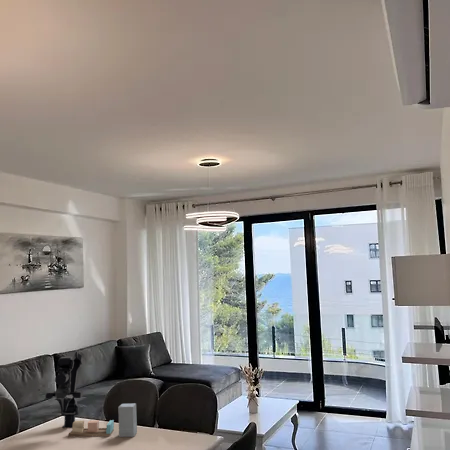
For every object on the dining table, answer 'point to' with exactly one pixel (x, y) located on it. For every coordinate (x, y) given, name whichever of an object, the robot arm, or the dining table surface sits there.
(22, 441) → the dining table surface
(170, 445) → the dining table surface
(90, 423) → the block
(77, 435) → the channel
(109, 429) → the teal end stop
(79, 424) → the beige slanted block
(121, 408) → the skincare box
